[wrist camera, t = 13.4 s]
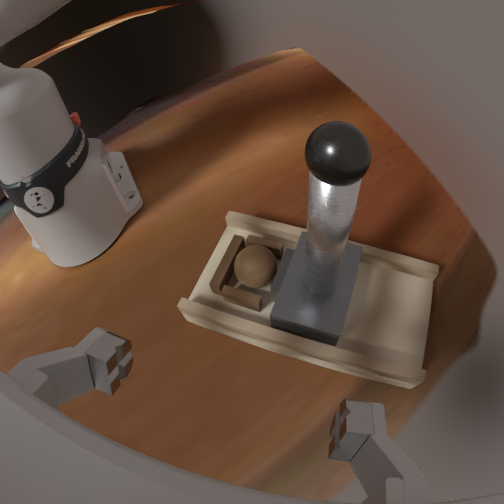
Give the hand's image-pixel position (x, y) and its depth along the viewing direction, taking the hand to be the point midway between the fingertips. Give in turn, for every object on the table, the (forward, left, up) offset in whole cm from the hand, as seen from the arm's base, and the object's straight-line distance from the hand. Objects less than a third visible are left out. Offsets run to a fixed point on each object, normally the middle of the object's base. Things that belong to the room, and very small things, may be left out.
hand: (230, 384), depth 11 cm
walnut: (-13, +4, -14) cm, 19 cm away
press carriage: (-9, +8, -15) cm, 20 cm away
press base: (-9, +9, -18) cm, 22 cm away
